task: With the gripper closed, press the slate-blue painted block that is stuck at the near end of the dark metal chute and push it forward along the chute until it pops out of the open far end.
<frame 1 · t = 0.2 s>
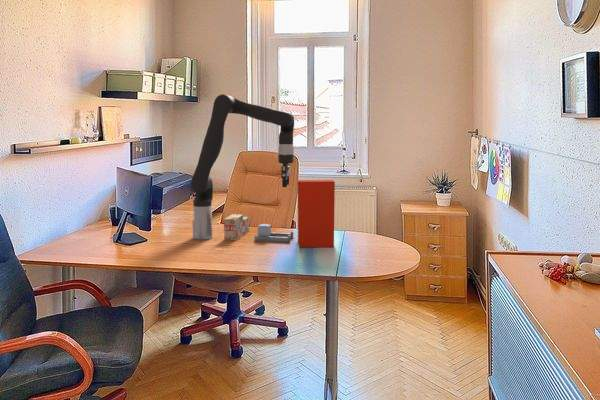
hand: (285, 185, 242), 28 cm above the table, fingers open, 8 cm apart
white product box: (237, 238, 255), on the table
file binder: (315, 245, 239), on the table
block: (264, 232, 246), point 5 cm above the table, slide at 0.0 cm
chute: (274, 241, 246), on the table
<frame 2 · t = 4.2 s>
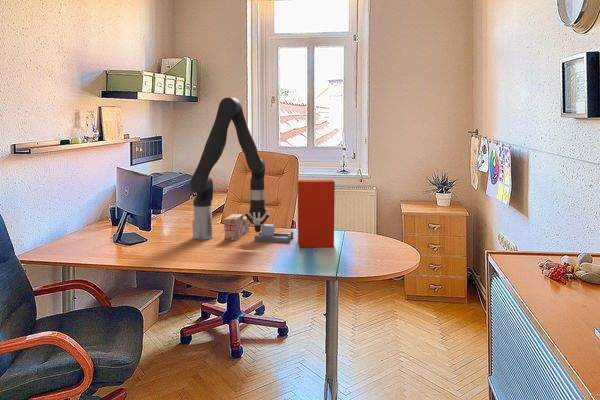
hand: (257, 231, 247), 5 cm above the table, fingers closed
block: (267, 232, 246), point 5 cm above the table, slide at 1.8 cm, touching gripper
everything else where it was.
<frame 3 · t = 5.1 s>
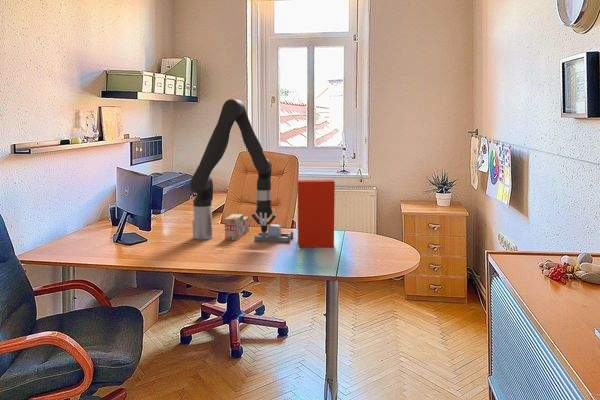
hand: (264, 232, 246), 5 cm above the table, fingers closed
block: (274, 232, 246), point 5 cm above the table, slide at 5.2 cm, touching gripper
everything else where it was.
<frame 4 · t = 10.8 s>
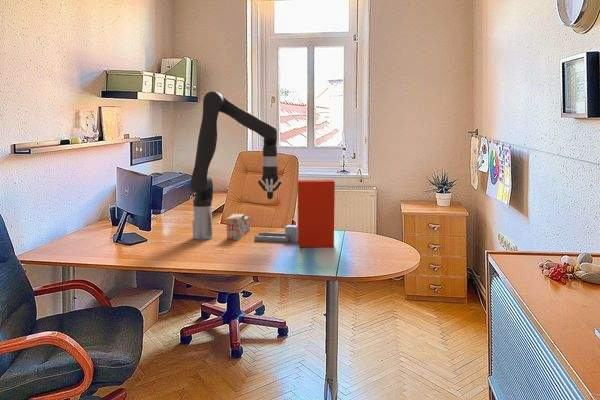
hand: (270, 199, 248), 21 cm above the table, fingers closed
block: (291, 233, 244), point 5 cm above the table, slide at 14.0 cm
at the end: block slide at 14.0 cm; block 0.5 cm from the target spot, point 4.8 cm above the table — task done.
